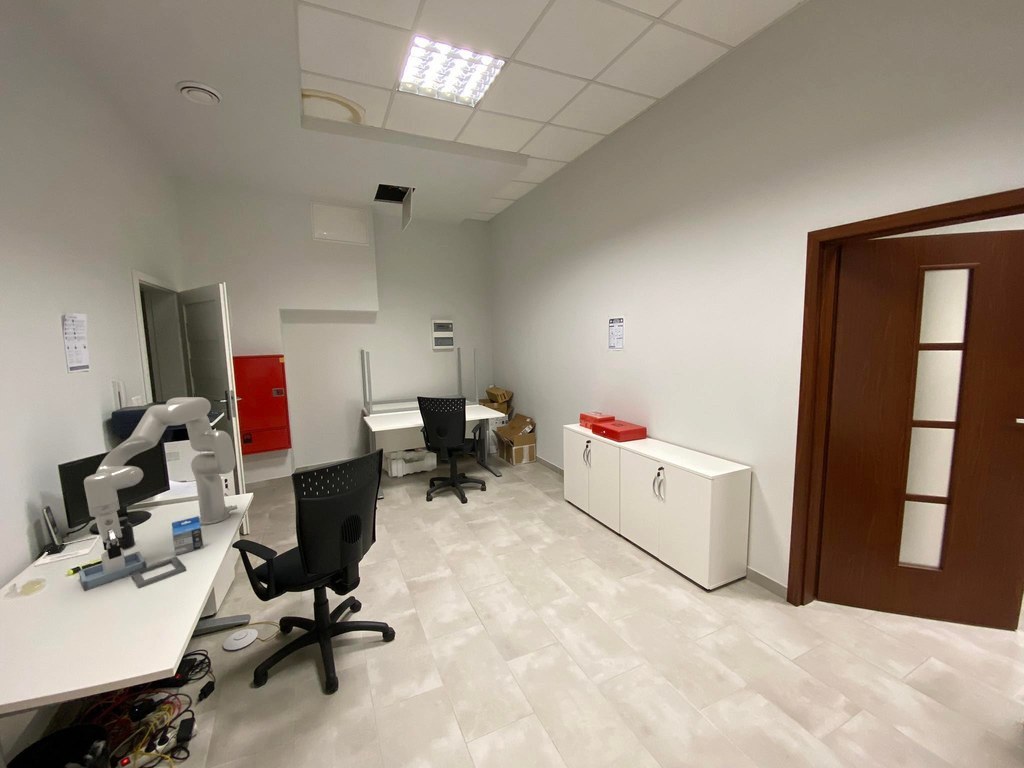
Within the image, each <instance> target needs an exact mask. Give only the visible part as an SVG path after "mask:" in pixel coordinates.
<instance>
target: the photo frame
mask: <svg viewBox="0 0 1024 768" xmlns="http://www.w3.org/2000/svg"><path fill="white" fill-rule="evenodd" d="M100 538H101V536H100V535H97V536H92V537H89V538H83V539H79V540H74V541H70V542H65V543H63V544H64V545H68V544H74V543H78V542H83V541H87V540H91V539H94V542H93V543H92V544H91V546H90V547H88V548H84V549H79V550H76V551H72V552H67V553H62V554H59V555H54V556H50V557H49V556H48V557H46V556H47V555H48V554H49V553H48V552H46V551H45V552H44V553H43V555H42V556H41V557H40V558H39V559H38V561H37V562H35V564H34V565H33V567H35V568H36V567H39V566H44V565H48V564H52V563H57V562H61V561H65V560H69V559H73V558H78V557H83V556H87V555H89V554H91V552H92V550H93V549H94V547H95V545H96V544H97V543H98V541H99V539H100Z"/></svg>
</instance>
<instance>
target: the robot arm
mask: <svg viewBox="0 0 1024 768" xmlns="http://www.w3.org/2000/svg"><path fill="white" fill-rule="evenodd" d="M211 409H212V405H211V402H210V401H209V400H208V399H207V398H205V397H199V396H195V397H194V396H193V397H192V396H191V397H190V396H189V397H188V396H187V397H186V396H185V397H179V396H178V397H172V398H170V399H168V400H167V401H166V403H165V404H156V405H155V404H154V405H152V406H149V408H147V409H146V411H145V413H144V414H143V415H142V417H141V419H140V421H139V423H138V424H137V426H136V427H135V429H134V430H133V431H132V433H131V435H130V436H129V437H128V438H127V439H126V440H124V441H123V442H121V443H120V444H119V445H118V446H115V448H114V449H112V450H111V451H109V453H107V454H106V456H105V457H104V458H103V460H102V461H101V463H100V465H99V466H98V468H97V470H96V472H95V473H94V474H91V475H89V476H86V477H85V478H84V480H83V485H84V491H85V496H86V500H87V507H88V512H89V516H90V517H92V518H93V517H94V518H95V522H96V525H97V530H98V533H99V536H100V538H101V540H102V545H103V550H104V551H108V556H109V559H113V558H116V557H119V556H121V555H122V554H121V549H120V545H119V542H118V539H117V537H118V538H121V537H122V532H121V528H120V523H119V519H118V518H119V515H118V512H117V511H119V510H120V509H121V508H120V503H119V498H118V497H119V496H118V492H117V491H118V490H121V489H122V490H123V489H125V488H130V487H134V486H136V485H137V484H139V483H140V482H141V481H142V480H143V478H144V472H143V470H142V469H141V468H140V467H138V466H133V465H125V464H126V463H127V462H128V461H129V460H130V459H132V458H133V457H134V456H136V455H138V454H140V453H143V452H145V451H148V450H150V449H152V448H154V447H156V446H157V445H158V443H159V441H160V440H161V438H162V436H163V434H164V432H165V430H166V429H167V428H168V427H169V426H181V425H184V424H185V426H186V429H187V435H188V439H189V444H190V446H191V448H192V450H193V451H196V452H202V453H199V454H197V455H195V456H194V457H193V458H192V460H191V463H190V467H191V471H192V472H193V476H194V480H195V482H196V483H195V484H196V489H197V490H196V491H197V501H198V507H199V515H200V516H199V521H200V525H201V526H207V525H213V524H217V523H220V522H223V521H226V520H227V519H228V518H229V517H231V511H236V510H238V505H237V504H235V505H229V506H226V504H225V503H226V501H225V494H224V486H223V479H222V477H221V475H225V474H229V473H231V472H232V471H234V469H235V467H236V456H235V450H234V445H233V441H232V437H231V436H230V434H229V433H228V432H226V431H225V430H213V429H212V426H211V423H210V421H211V420H210V418H209V417H208V414H209V412H210V411H211ZM109 542H110V543H109ZM106 545H107V546H108V548H106Z"/></svg>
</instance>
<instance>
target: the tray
mask: <svg viewBox="0 0 1024 768" xmlns="http://www.w3.org/2000/svg"><path fill="white" fill-rule="evenodd" d="M124 559H125V565H126V567H124V568H122V569H119V570H116V571H113V572H110V573H107V574H104V572H103V565H102V562H101V563H99V564H96V565H93V566H89V567H86V568H83V569H80V570H78V575H79V580H80V583H81V585H82V588H83V591H84V592H87V591H88V590H91V589H93V588H97V587H101V586H103V585H105V584H108V583H112V582H115V581H117V580H119V579H122V578H125V577H129V576H131V574H130V572H132V571H135V570H138V569H141V568H144V567H147V566H148V565H147V560H146V559H145V557H143V555H142V554H141V552H140V551H136V552H132V553H129V554H126V555H124Z"/></svg>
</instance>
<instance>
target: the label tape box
mask: <svg viewBox="0 0 1024 768" xmlns="http://www.w3.org/2000/svg"><path fill="white" fill-rule="evenodd" d="M199 518H200V516H194V517H193V516H192V517H190V518H185V519H182V520H177V521H173V522H171V526H172V528H171V531H172V533H171V534H172V541H173V547H174V554H175V556H178V555H181V554H185V553H188V552H193V551H195V550H198V549H203V548H204V541H203V535H202V528H201V527H202V525H200V521H199Z"/></svg>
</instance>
